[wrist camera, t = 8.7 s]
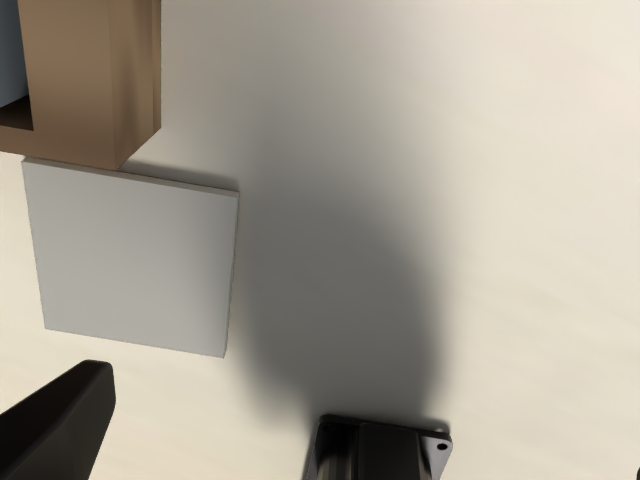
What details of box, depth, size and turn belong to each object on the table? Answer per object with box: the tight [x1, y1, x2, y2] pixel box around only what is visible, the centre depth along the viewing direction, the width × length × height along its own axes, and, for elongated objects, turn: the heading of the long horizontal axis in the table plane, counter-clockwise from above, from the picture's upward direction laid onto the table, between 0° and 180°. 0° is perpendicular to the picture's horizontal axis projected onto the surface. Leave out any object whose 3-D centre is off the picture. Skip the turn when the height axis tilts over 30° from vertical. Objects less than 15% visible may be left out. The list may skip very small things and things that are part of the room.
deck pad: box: [21, 157, 239, 358], centre depth 22 cm, size 8×8×1 cm
